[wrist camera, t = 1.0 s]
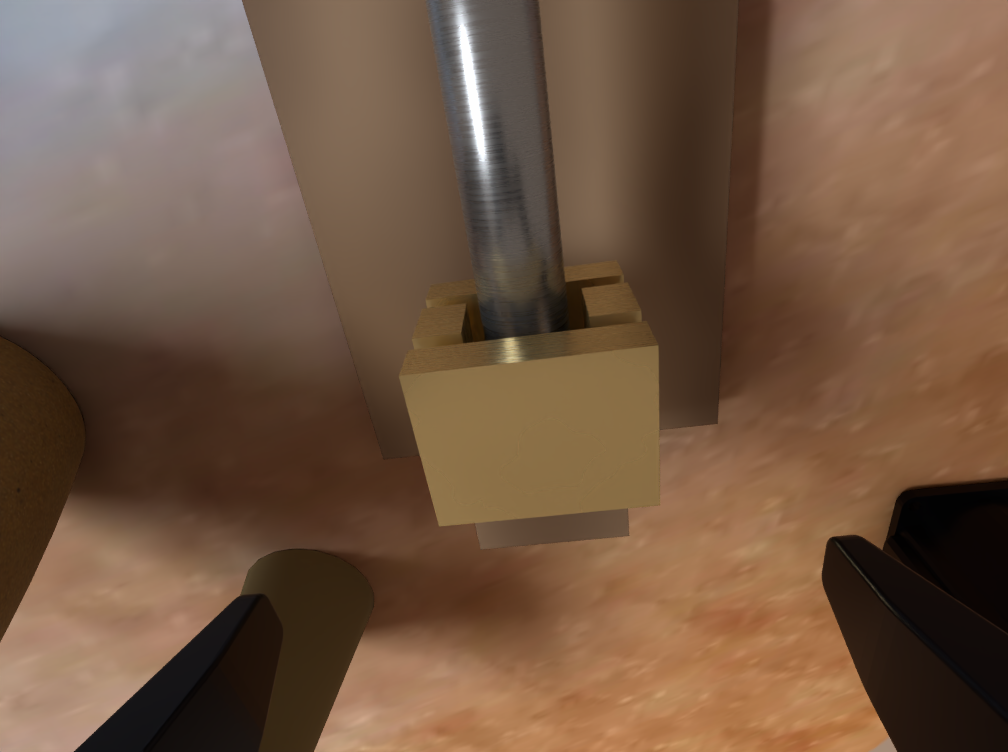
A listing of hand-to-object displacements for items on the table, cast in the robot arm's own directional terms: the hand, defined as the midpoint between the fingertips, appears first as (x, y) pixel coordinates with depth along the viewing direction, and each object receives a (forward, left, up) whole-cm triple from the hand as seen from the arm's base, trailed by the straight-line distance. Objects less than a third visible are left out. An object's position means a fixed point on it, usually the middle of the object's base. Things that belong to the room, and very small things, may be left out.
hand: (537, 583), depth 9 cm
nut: (0, 0, -8) cm, 8 cm away
